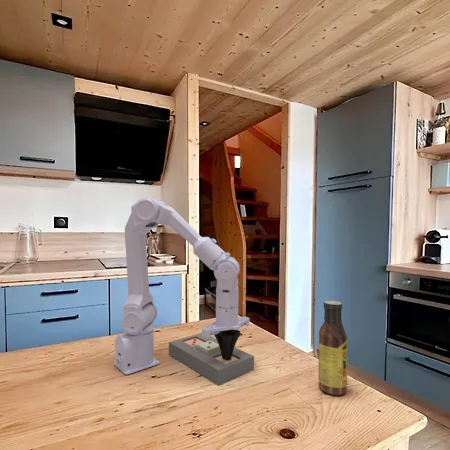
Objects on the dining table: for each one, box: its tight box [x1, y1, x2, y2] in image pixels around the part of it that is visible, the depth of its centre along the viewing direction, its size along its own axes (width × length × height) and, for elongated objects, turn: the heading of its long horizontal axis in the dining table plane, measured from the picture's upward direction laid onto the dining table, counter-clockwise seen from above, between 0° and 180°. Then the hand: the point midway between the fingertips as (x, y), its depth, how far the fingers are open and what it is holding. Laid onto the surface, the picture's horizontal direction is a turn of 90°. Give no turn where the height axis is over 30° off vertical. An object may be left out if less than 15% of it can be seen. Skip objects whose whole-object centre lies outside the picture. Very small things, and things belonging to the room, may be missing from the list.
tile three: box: [184, 338, 204, 346], centre depth 89 cm, size 5×5×2 cm
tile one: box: [215, 356, 237, 364], centre depth 78 cm, size 5×5×2 cm
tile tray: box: [168, 332, 255, 386], centre depth 83 cm, size 12×22×4 cm, turn 42°
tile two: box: [198, 341, 220, 354], centre depth 83 cm, size 5×5×2 cm
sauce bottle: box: [317, 300, 348, 396], centre depth 70 cm, size 7×6×20 cm
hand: (226, 358), depth 78 cm, fingers closed, pressing on tile one
